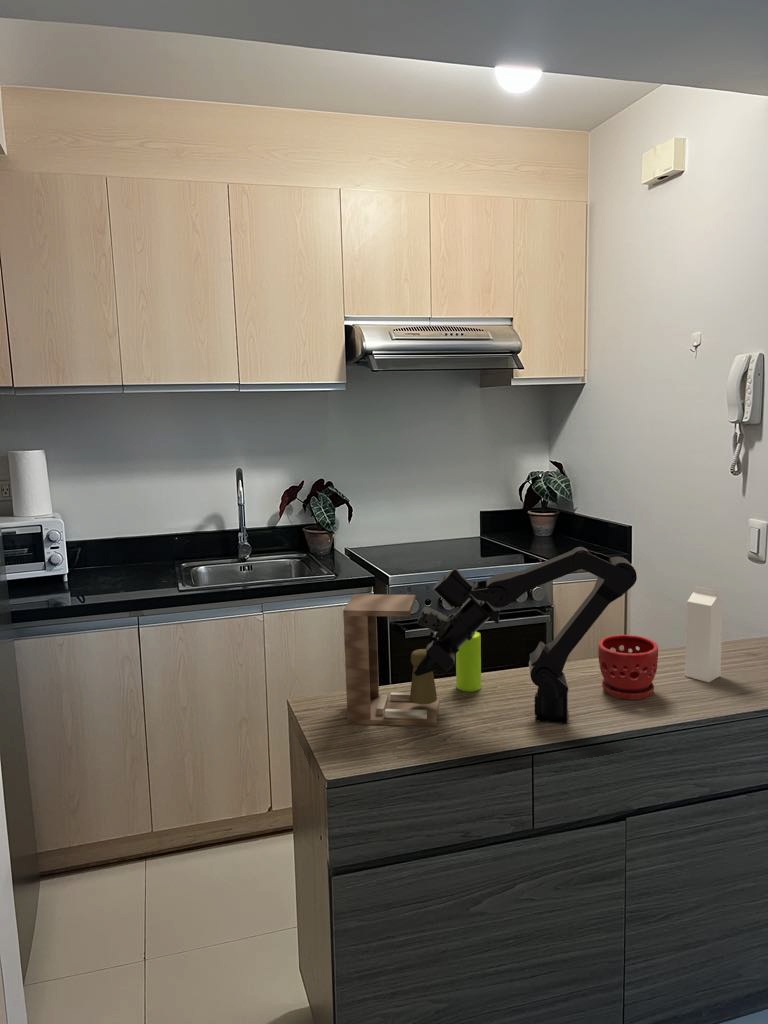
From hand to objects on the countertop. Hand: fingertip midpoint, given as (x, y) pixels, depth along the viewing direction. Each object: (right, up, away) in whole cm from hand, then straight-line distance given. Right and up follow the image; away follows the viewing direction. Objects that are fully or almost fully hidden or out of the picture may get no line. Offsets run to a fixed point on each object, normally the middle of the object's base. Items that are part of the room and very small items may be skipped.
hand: (416, 669), depth 166 cm
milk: (+70, -5, +18) cm, 73 cm away
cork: (+2, -7, +1) cm, 7 cm away
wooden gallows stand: (-5, -10, +2) cm, 11 cm away
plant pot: (+49, -7, +9) cm, 51 cm away
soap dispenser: (+13, -8, +15) cm, 22 cm away
